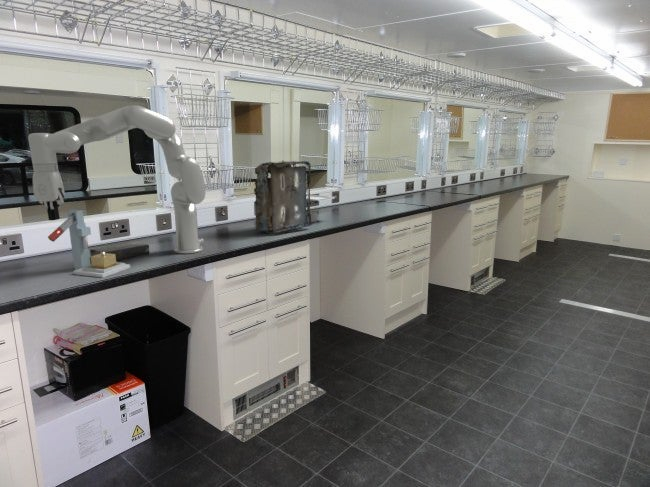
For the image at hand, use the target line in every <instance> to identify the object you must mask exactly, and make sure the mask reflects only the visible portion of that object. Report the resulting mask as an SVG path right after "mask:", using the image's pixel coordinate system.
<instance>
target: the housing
mask: <svg viewBox="0 0 650 487" xmlns="http://www.w3.org/2000/svg"><path fill="white" fill-rule="evenodd" d="M116 262H117V261H116V256H115V254H109V253H105V252H101V254H98V255H94V256H91V255H90V264H91V265H92V268H94V269H103V270H104V269H107V268H110V267H113V266H116Z"/></svg>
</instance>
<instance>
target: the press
mask: <svg viewBox="0 0 650 487" xmlns="http://www.w3.org/2000/svg"><path fill="white" fill-rule="evenodd" d="M72 213H75V218H76V221H75V222H74V223H73V224H72V225H71V226H70V227H69V228H68V229H69V238H70V243H71V252H72V259H73V266H74V267H73V268H74V270H73V271H72V272H73V275H78V276H79V275H80V276H87V277H88V276H89V277H94V278H95V277H96V278H105V277H109V276H110V275H115V273H116V274H117V273H119V272H122V271H125V270H127V269H130V268H131V264H129V263H125V262H119V261H116V266H113V267H110V268H107V269H104V270H103V269H94V268H92V264H91V256H90V248H89V240H88V236H90V235H92V232H91V227H90V226H86V225H87V224H86V222H85V216H84V210H83V209H82V210H81V209H80V210H76V209H72V210H67V215H68V218H69V217H70V216H71V215H72Z"/></svg>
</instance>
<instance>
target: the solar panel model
mask: <svg viewBox="0 0 650 487" xmlns="http://www.w3.org/2000/svg"><path fill="white" fill-rule="evenodd" d="M306 195H307V196H306V201H307V197H308V193H306ZM334 199H336V196H329V195H327V196H326V195H318V194H316V195H315V194H310V202H313V201H314V202H321V201H329V200H334ZM307 212H308V211H307V210H306V213H307ZM310 214H311V223H315V222H317V221H318V212H317V211H314V210H310ZM307 223H309V216H308V214H307Z"/></svg>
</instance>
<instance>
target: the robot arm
mask: <svg viewBox="0 0 650 487" xmlns="http://www.w3.org/2000/svg"><path fill="white" fill-rule="evenodd" d="M133 129H140V130H142V131H143V132H144V133H145V135H147V137H148V138H151V139H154V140H155V141H156V142H157V143H158V144H159V145H160V147H161V149H162V152H163V156H164V160H165V164H166V166H167V171H168V173H169V175H170V176H171V177H172V178H175V179H180V180H179V181H176V182H174V183H173V185H172V187H171V189H170V196H171V200H172V203H173V204H172V205H173V211H174V222H175V236H176V247H174V248H173V252H174V253H176V254H194V253H199V252H201V251H203V249H204V248H203V246H202V245H200V244H201V243H204V242H205V240H204V238H199V227H198V213H197V206H196V205H199V204H201V203H202V202H203V201H204V200H205V197H206V186H205V182H204V179H203V173H202V170H201V167H200V165H199V163H198V161H197V160H196V159H194V158H193V157H192V156H191V157H190V156H187V155H186V152H185V149H184V146H183V143H182V140H181V138H180V136H179V135H178V133H177V132H176V125H175V123H174V121H173V120H172V119H170V118H169V117H167V116H165V115H162V114H160V113H158V112H155V111H153V110H151V109H148V108H147V107H144V106H141V105H139V104H138V105H137V104H136V105H135V104H134V105H126V106H123V107H120V108H117V109H114V110H113V111H109V112H107V113H104V114H101V115H99V116H96V117H93V118H91V119H89V120H86V121H83V122H81V123H77V124H75V125H71V126H70V127H66V128H64V129H61V130H59V131H56V132H53V133H49V132H35V133H34V132H33V133H30V134H29V135H28V137H27V139H28V143H29V145H28V146H29V150H30V156H31V163H32V168H33V174H32V188H33V189H32V190H33V197H34V199H35V201H37V202H38V203H39V204H42V205H43V206H44V207H45V209H46V212H47V217H48V221H57V220H60V219H61V218H60V213H59V209H60V206H61V205H63V204H65V201H64V200H65V197H66V194H65V187H64V183H63V180H62V176H61V173H60V171H59V165H58V158H57V153H58V154H59V153H60V154H74V153H75V152H77V151H79V149H80V148H81V146H84V145H86V144H89V143H90V144H91V143H94V142H99V141H100V142H101V141H105V140H108V139H111V138H114V137H115V136H118V135H120V134H123V133H125V132H128V131H129V130H133Z"/></svg>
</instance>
